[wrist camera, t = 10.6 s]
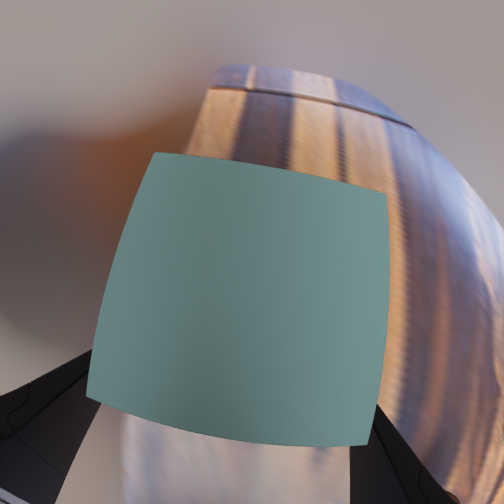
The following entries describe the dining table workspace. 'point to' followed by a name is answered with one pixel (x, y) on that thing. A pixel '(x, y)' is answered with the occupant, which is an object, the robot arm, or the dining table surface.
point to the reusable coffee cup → (503, 436)
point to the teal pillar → (247, 304)
